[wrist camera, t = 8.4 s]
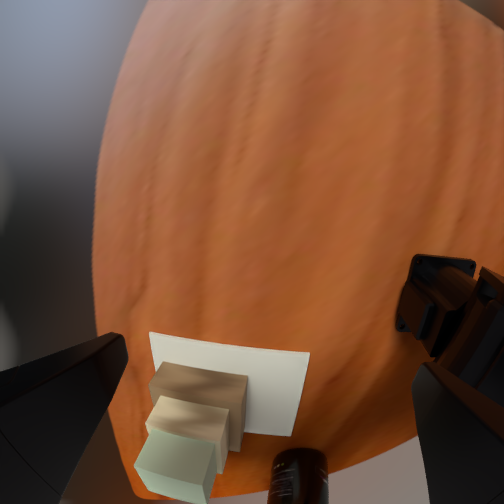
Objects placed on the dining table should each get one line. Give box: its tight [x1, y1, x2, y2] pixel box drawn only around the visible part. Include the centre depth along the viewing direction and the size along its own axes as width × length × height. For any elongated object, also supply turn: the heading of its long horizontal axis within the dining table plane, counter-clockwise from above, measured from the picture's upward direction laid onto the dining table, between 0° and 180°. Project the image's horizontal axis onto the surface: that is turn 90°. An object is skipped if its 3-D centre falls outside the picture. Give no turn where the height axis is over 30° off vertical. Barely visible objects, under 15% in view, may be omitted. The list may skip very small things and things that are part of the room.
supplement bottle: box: [267, 448, 329, 504], centre depth 21 cm, size 7×7×12 cm
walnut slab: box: [148, 361, 248, 452], centre depth 23 cm, size 8×8×4 cm
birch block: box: [145, 395, 230, 474], centre depth 20 cm, size 6×6×4 cm
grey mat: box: [149, 332, 310, 436], centre depth 24 cm, size 14×12×1 cm
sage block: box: [134, 429, 217, 504], centre depth 16 cm, size 5×5×4 cm
